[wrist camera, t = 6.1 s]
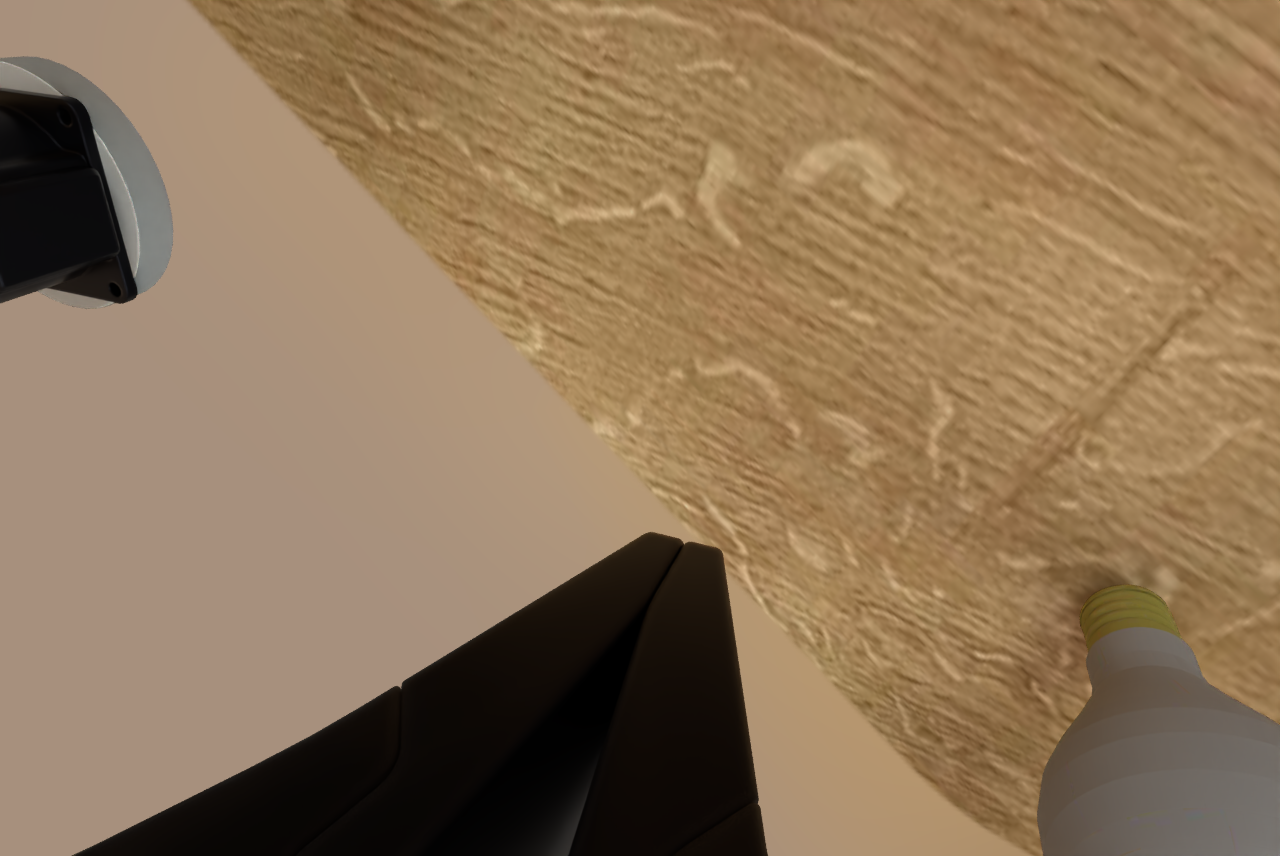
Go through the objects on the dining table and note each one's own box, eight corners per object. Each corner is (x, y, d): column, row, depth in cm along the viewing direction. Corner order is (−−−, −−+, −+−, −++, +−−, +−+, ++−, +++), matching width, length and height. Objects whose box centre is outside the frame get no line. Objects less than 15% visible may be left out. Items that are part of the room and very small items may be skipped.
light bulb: (1281, 540, 19) (1572, 978, 10) (1197, 698, 21) (1373, 1148, 13) (1036, 497, 20) (1117, 852, 12) (986, 651, 23) (1022, 1029, 14)
